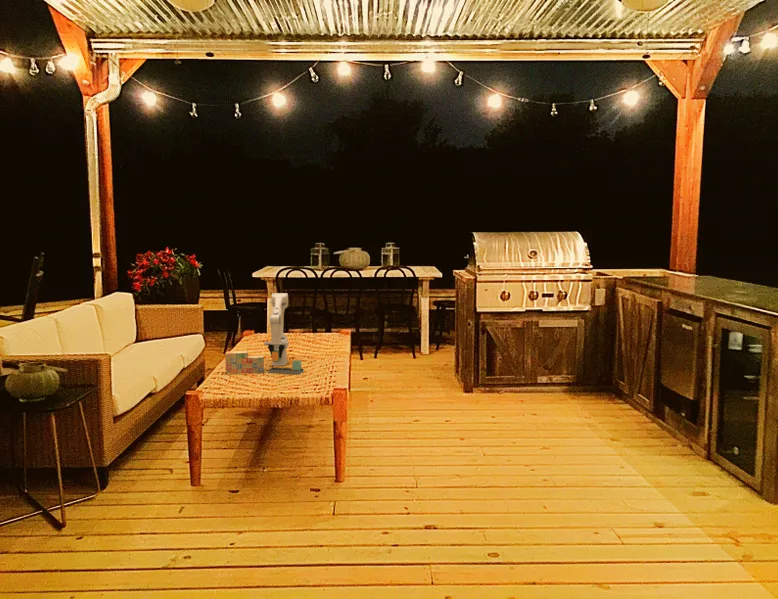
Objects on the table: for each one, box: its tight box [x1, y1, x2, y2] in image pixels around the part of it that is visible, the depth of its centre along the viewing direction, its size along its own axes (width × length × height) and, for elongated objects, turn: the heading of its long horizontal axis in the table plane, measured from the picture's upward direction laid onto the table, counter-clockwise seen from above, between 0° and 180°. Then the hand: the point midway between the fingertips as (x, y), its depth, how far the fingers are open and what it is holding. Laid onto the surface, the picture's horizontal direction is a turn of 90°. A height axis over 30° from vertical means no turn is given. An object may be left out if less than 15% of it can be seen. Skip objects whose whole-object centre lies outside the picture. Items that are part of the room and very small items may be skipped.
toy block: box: [271, 350, 281, 363], centre depth 379 cm, size 4×5×6 cm
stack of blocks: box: [224, 350, 265, 374], centre depth 372 cm, size 21×6×12 cm, turn 99°
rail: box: [267, 359, 305, 375], centre depth 371 cm, size 6×19×7 cm, turn 82°
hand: (276, 357), depth 380 cm, fingers closed on toy block, 4 cm apart
